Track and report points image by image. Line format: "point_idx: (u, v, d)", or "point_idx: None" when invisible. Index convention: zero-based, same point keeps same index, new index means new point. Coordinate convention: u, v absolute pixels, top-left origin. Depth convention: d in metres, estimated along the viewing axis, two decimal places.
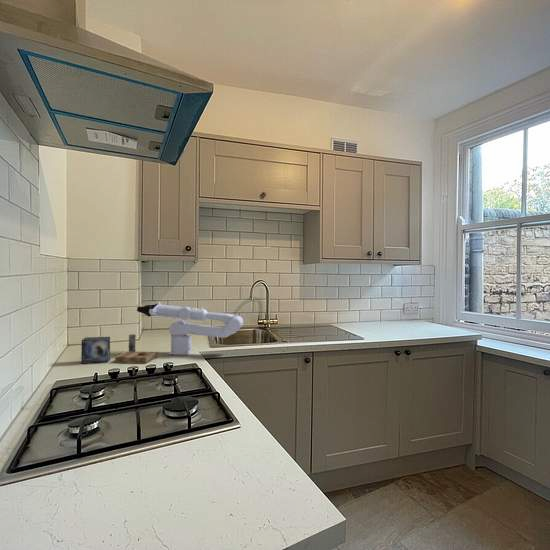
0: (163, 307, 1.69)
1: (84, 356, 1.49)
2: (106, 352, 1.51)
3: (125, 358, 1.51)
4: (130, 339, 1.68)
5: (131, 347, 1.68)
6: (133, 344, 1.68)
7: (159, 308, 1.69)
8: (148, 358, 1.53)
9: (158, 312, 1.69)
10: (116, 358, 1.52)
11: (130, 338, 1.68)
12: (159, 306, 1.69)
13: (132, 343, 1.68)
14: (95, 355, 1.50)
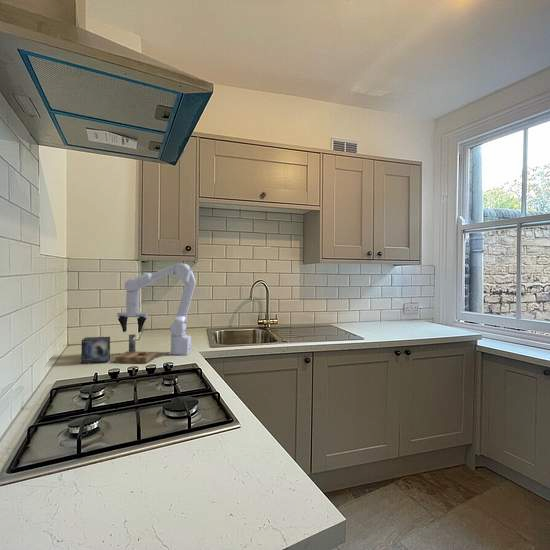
0: (134, 307, 1.67)
1: (84, 356, 1.49)
2: (106, 352, 1.51)
3: (125, 358, 1.51)
4: (130, 339, 1.68)
5: (131, 347, 1.68)
6: (133, 344, 1.68)
7: (136, 310, 1.68)
8: (148, 358, 1.53)
9: (138, 311, 1.70)
10: (116, 358, 1.52)
11: (130, 338, 1.68)
12: (134, 312, 1.67)
13: (132, 343, 1.68)
14: (95, 355, 1.50)
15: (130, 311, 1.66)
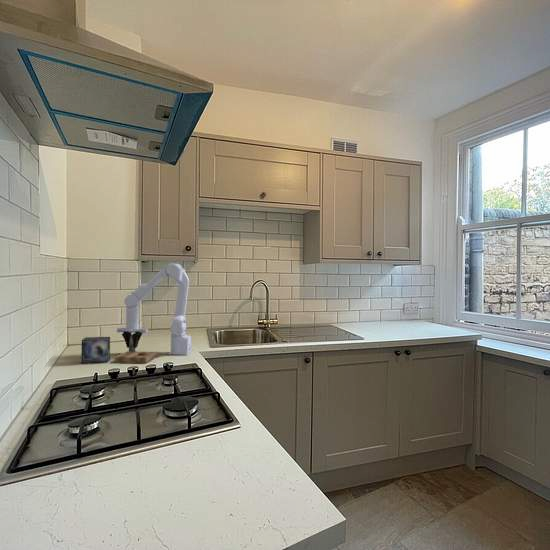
0: (134, 323, 1.67)
1: (84, 356, 1.49)
2: (106, 352, 1.51)
3: (125, 358, 1.51)
4: (130, 339, 1.68)
5: (131, 347, 1.68)
6: (133, 344, 1.68)
7: (136, 326, 1.68)
8: (148, 358, 1.53)
9: (138, 326, 1.70)
10: (116, 358, 1.52)
11: (130, 338, 1.68)
12: (133, 327, 1.67)
13: (132, 343, 1.68)
14: (96, 355, 1.50)
15: (130, 327, 1.66)
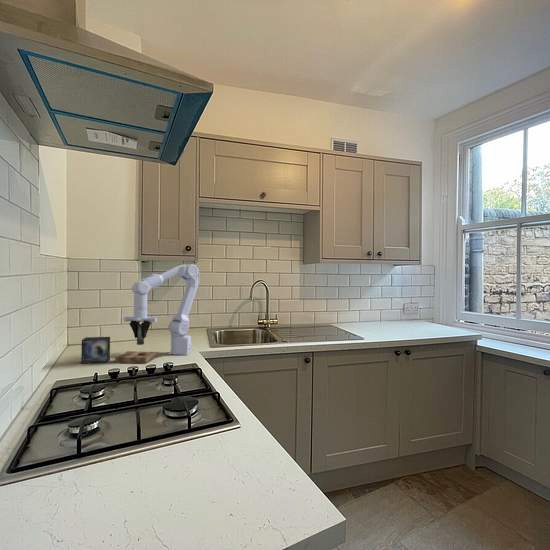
0: (143, 311, 1.55)
1: (84, 356, 1.49)
2: (106, 352, 1.51)
3: (125, 358, 1.51)
4: (139, 329, 1.56)
5: (140, 337, 1.56)
6: None
7: (144, 314, 1.56)
8: (148, 358, 1.53)
9: None
10: (116, 358, 1.52)
11: (139, 328, 1.56)
12: (142, 316, 1.55)
13: (141, 333, 1.56)
14: (96, 355, 1.50)
15: (138, 315, 1.55)
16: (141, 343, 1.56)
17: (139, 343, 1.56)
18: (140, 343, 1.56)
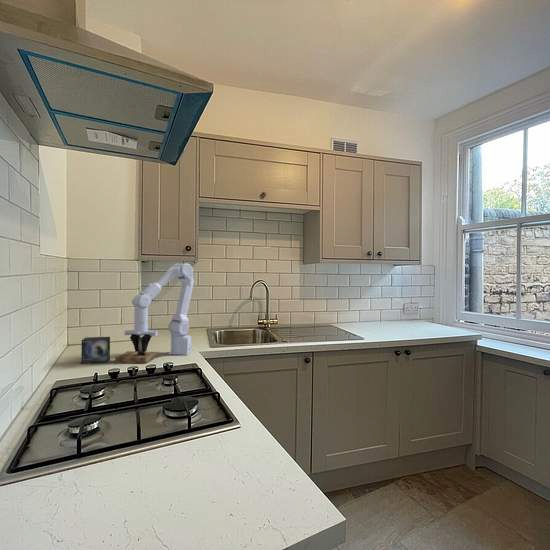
0: (143, 325, 1.54)
1: (84, 356, 1.49)
2: (106, 352, 1.51)
3: (125, 358, 1.51)
4: (139, 342, 1.55)
5: (140, 351, 1.55)
6: (142, 348, 1.56)
7: (145, 328, 1.55)
8: (148, 358, 1.53)
9: (147, 328, 1.57)
10: (116, 358, 1.52)
11: (139, 341, 1.55)
12: (142, 330, 1.54)
13: (142, 347, 1.55)
14: (95, 355, 1.50)
15: (139, 329, 1.54)
16: None
17: None
18: None
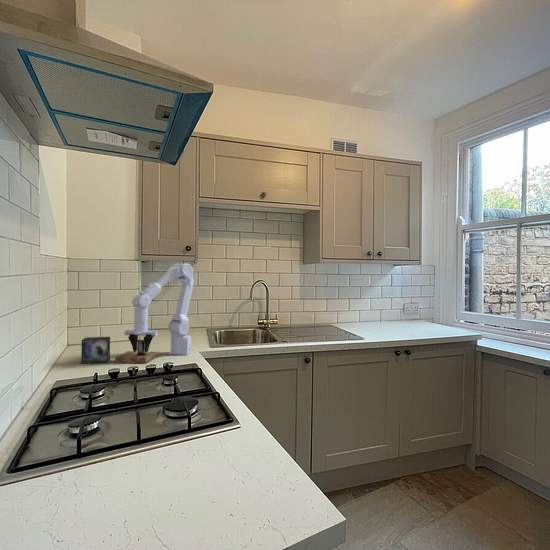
0: (143, 325, 1.54)
1: (84, 356, 1.49)
2: (106, 352, 1.51)
3: (125, 358, 1.51)
4: (139, 345, 1.55)
5: (140, 353, 1.55)
6: (142, 350, 1.56)
7: (145, 328, 1.55)
8: (148, 358, 1.53)
9: (147, 328, 1.57)
10: (116, 358, 1.52)
11: (139, 344, 1.55)
12: (142, 330, 1.54)
13: (141, 349, 1.55)
14: (95, 355, 1.50)
15: (139, 329, 1.54)
16: None
17: None
18: None
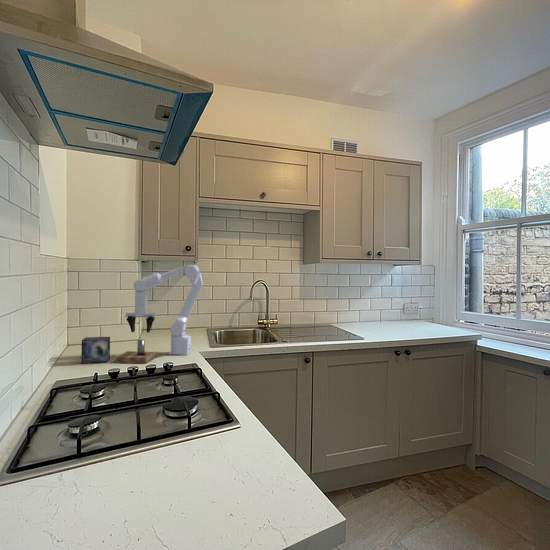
0: (143, 307, 1.67)
1: (84, 356, 1.49)
2: (106, 352, 1.51)
3: (125, 358, 1.51)
4: (139, 345, 1.55)
5: (140, 353, 1.55)
6: (142, 350, 1.56)
7: (145, 310, 1.67)
8: (148, 358, 1.53)
9: None
10: (116, 358, 1.52)
11: (139, 344, 1.55)
12: (142, 312, 1.67)
13: (141, 349, 1.55)
14: (95, 355, 1.50)
15: (139, 311, 1.66)
16: None
17: None
18: None
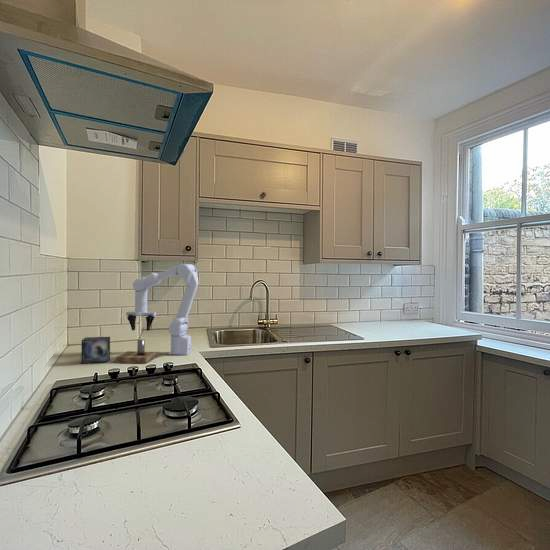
0: (143, 306, 1.72)
1: (84, 356, 1.49)
2: (106, 352, 1.51)
3: (125, 358, 1.51)
4: (139, 345, 1.55)
5: (140, 353, 1.55)
6: (142, 350, 1.56)
7: (144, 309, 1.73)
8: (148, 358, 1.53)
9: (146, 310, 1.75)
10: (116, 358, 1.52)
11: (139, 344, 1.55)
12: (142, 311, 1.72)
13: (141, 349, 1.55)
14: (95, 355, 1.50)
15: (139, 310, 1.71)
16: None
17: None
18: None
